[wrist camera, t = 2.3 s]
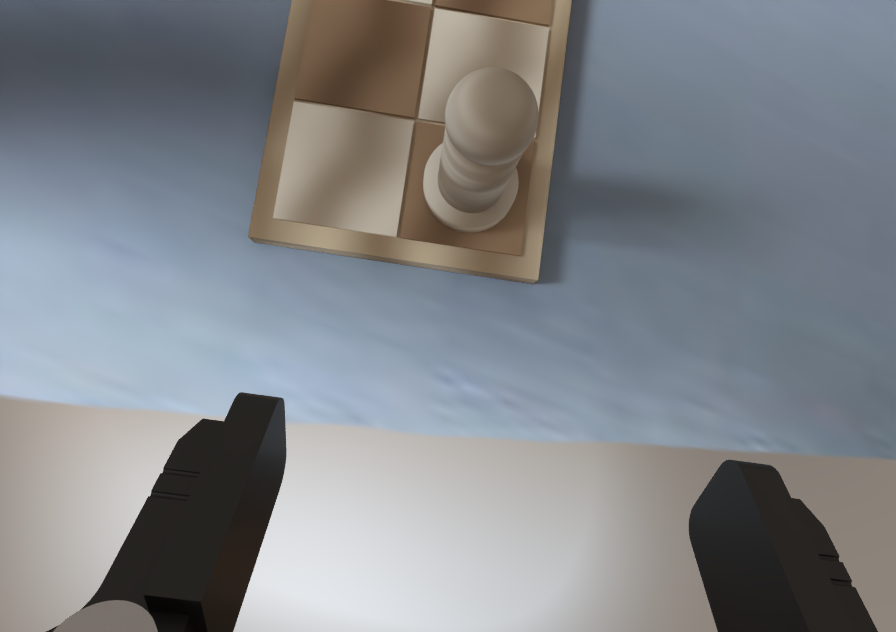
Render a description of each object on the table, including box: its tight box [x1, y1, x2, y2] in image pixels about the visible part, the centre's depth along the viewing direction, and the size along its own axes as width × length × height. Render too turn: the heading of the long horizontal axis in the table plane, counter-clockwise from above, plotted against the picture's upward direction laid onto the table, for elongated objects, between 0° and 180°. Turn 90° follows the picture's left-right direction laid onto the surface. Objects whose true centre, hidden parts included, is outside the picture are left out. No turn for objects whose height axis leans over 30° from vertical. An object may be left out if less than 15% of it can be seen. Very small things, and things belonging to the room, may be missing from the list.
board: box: [248, 0, 572, 284], centre depth 33 cm, size 15×28×1 cm, turn 172°
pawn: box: [423, 67, 539, 233], centre depth 26 cm, size 5×5×10 cm
